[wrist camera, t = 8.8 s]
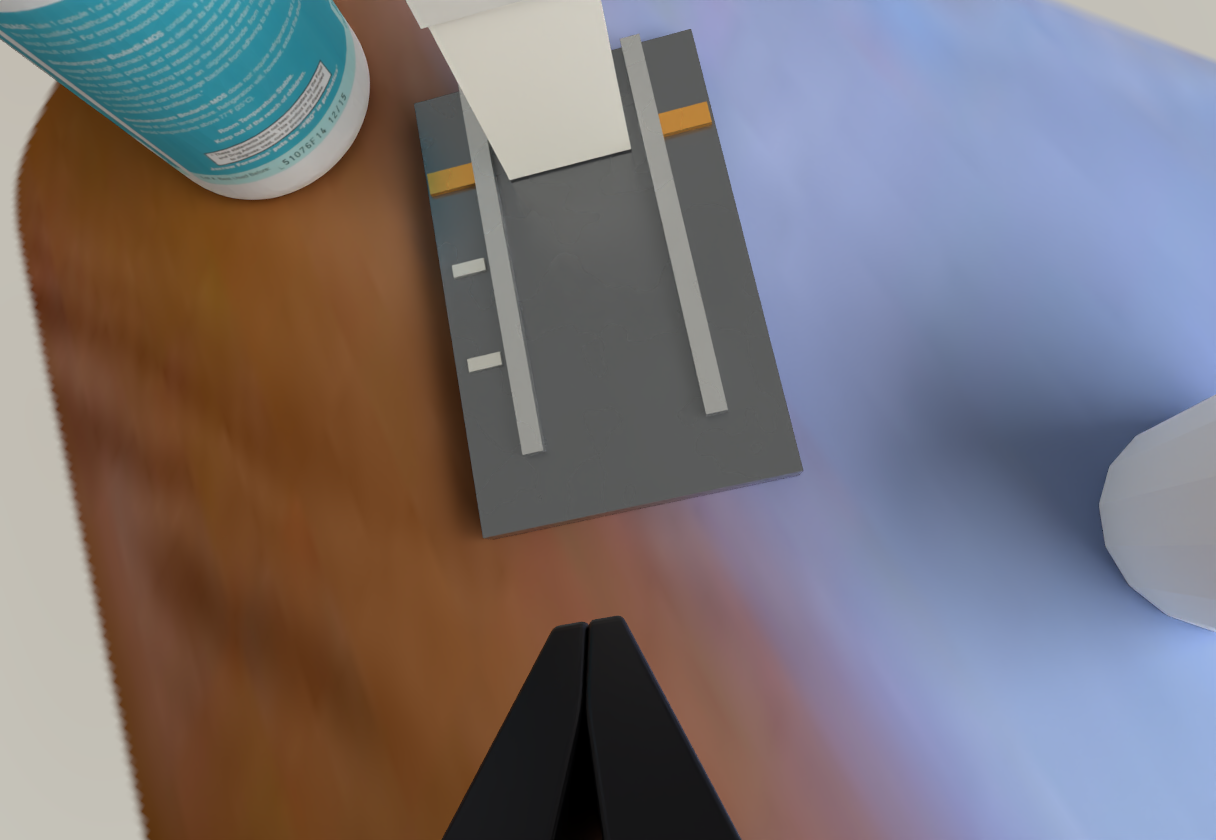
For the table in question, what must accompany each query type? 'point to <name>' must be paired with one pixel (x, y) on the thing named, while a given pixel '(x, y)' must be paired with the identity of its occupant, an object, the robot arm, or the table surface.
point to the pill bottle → (209, 81)
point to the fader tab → (533, 77)
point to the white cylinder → (1167, 514)
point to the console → (605, 310)
